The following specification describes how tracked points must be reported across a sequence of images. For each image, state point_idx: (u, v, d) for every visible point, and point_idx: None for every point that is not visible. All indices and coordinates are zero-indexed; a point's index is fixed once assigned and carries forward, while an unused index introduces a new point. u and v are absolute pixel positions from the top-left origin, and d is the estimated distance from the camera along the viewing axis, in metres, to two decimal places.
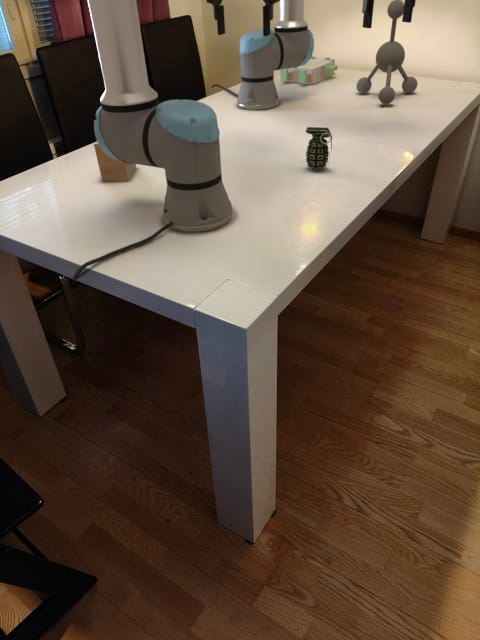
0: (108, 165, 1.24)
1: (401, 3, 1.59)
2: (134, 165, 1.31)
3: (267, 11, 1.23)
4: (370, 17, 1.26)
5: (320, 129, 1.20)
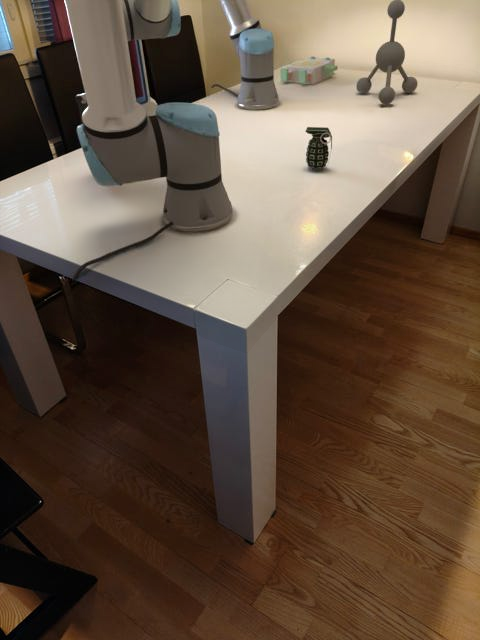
0: None
1: (401, 3, 1.59)
2: None
3: None
4: None
5: (320, 129, 1.20)
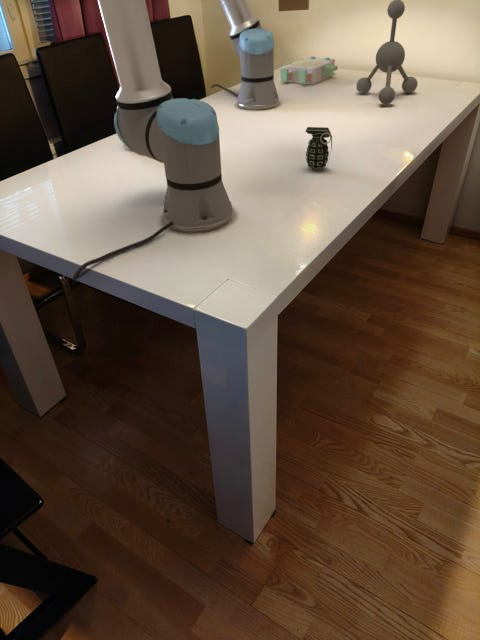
0: None
1: (401, 3, 1.59)
2: None
3: None
4: None
5: (320, 129, 1.20)
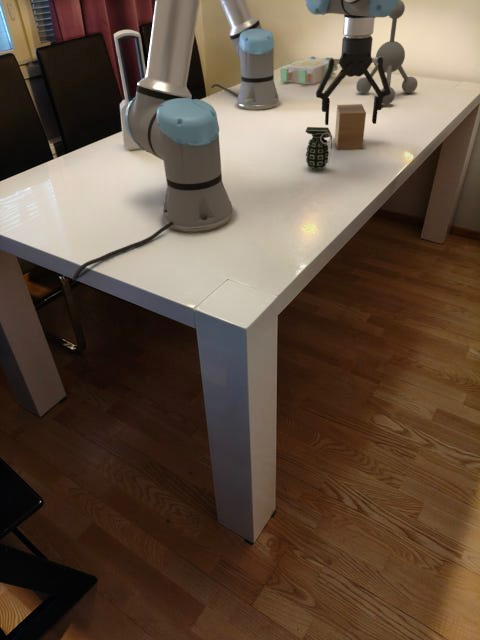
0: (348, 133, 1.35)
1: (401, 3, 1.59)
2: None
3: (379, 102, 1.33)
4: None
5: (320, 129, 1.20)
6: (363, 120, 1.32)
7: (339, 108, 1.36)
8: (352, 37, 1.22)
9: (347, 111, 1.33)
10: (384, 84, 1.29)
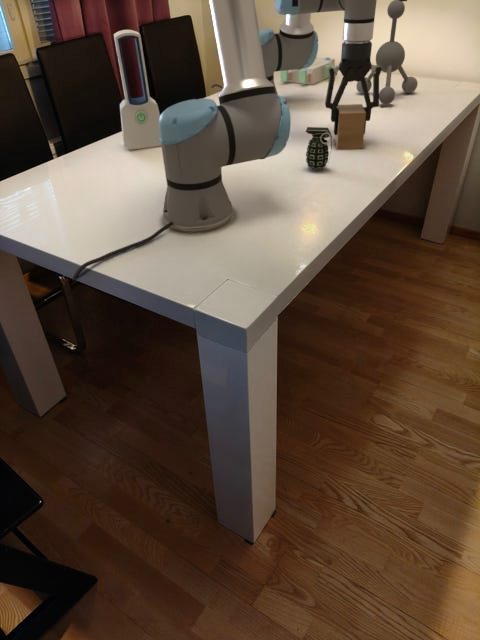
0: (348, 133, 1.35)
1: (401, 3, 1.59)
2: None
3: None
4: None
5: (320, 129, 1.20)
6: (363, 120, 1.32)
7: (339, 108, 1.36)
8: None
9: (347, 111, 1.33)
10: None
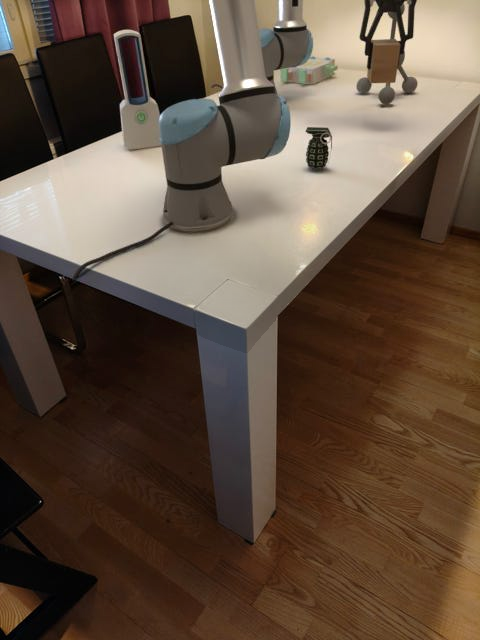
0: (382, 66, 1.36)
1: None
2: None
3: None
4: None
5: (320, 129, 1.20)
6: (397, 52, 1.34)
7: (373, 42, 1.37)
8: None
9: (381, 43, 1.34)
10: None
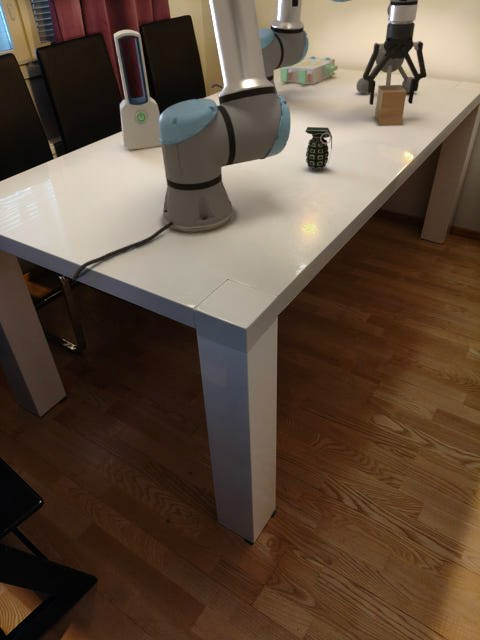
0: (389, 110, 1.50)
1: None
2: None
3: None
4: None
5: (320, 129, 1.20)
6: (403, 98, 1.48)
7: (381, 88, 1.51)
8: None
9: (389, 90, 1.48)
10: None
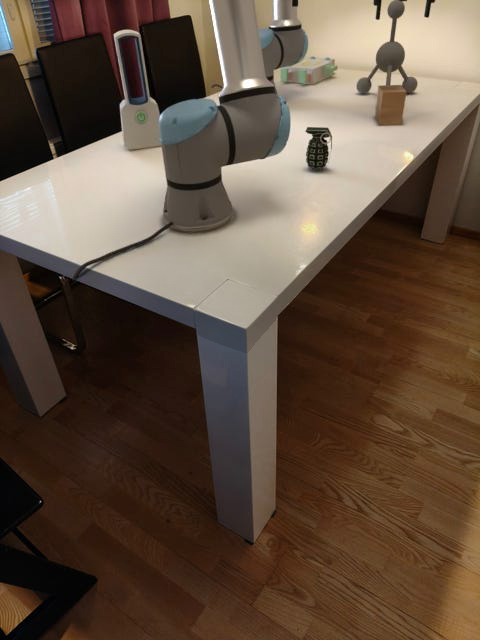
0: (389, 110, 1.50)
1: (401, 3, 1.59)
2: None
3: None
4: None
5: (320, 129, 1.20)
6: (403, 98, 1.48)
7: (381, 88, 1.51)
8: None
9: (389, 90, 1.48)
10: None
